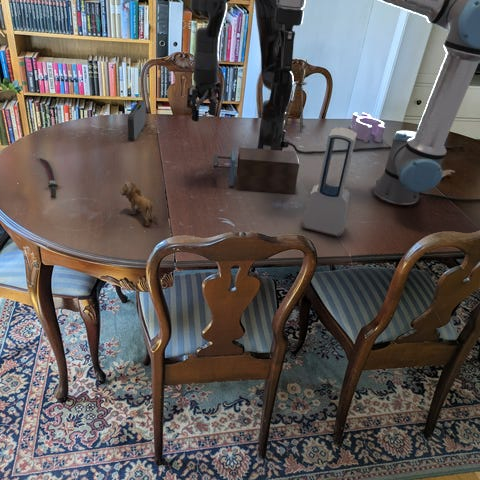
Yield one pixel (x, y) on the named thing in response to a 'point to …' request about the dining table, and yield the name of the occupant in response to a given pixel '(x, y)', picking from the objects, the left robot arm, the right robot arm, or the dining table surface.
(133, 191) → the lion figurine
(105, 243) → the dining table surface
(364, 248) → the dining table surface
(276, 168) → the cabinet
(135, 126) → the handheld gaming console
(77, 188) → the dining table surface
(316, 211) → the electronic device
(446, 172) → the jawbone
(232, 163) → the drawer
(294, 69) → the miniature windmill
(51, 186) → the sword
